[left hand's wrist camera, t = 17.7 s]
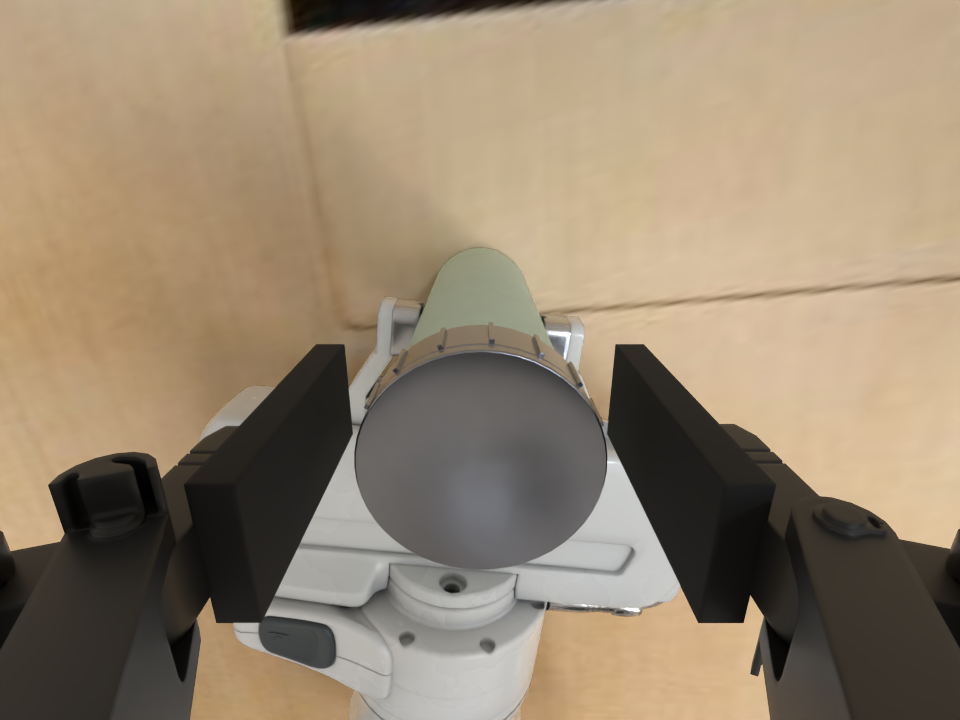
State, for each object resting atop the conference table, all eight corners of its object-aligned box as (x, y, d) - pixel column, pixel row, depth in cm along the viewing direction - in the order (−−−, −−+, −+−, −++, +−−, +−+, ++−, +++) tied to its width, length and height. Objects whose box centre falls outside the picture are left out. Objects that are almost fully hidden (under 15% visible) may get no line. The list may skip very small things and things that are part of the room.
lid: (638, 412, 12) (664, 451, 10) (496, 555, 13) (498, 609, 12) (460, 273, 11) (457, 292, 9) (326, 444, 12) (302, 487, 10)
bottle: (512, 347, 26) (552, 558, 12) (425, 327, 26) (357, 519, 11) (537, 260, 24) (617, 382, 10) (444, 237, 24) (395, 330, 10)
